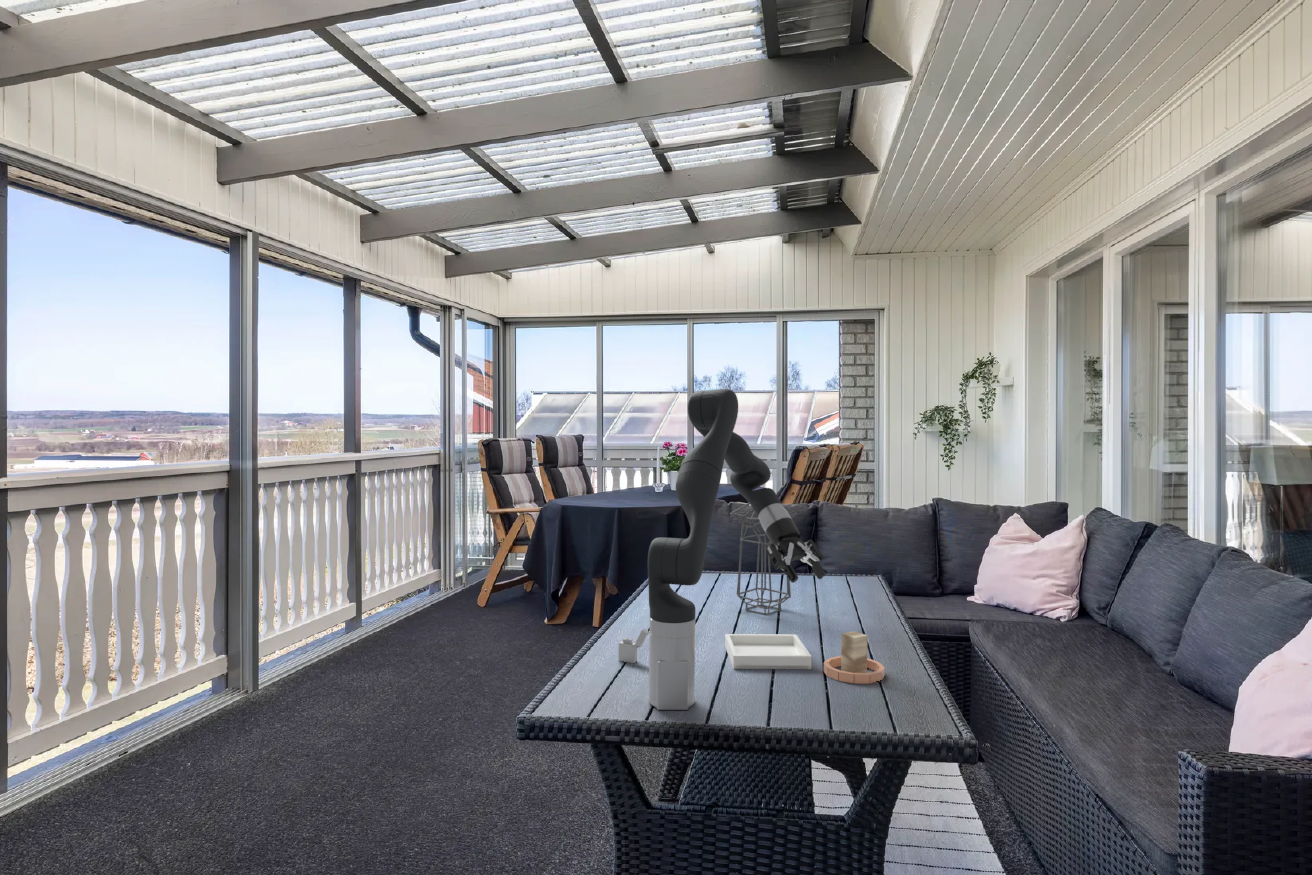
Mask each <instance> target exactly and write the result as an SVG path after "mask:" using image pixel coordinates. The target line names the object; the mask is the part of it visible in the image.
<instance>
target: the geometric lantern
mask: <svg viewBox="0 0 1312 875" xmlns="http://www.w3.org/2000/svg"><path fill="white" fill-rule="evenodd" d="M782 505H783V507H784V508H785V509H786V510H787V512H788V513H789V515H790V517H791V518H792V520H793V519H794V518H795V517H796V516H797V515H798V513H797V512H796V511H794V510H793V509H791V508H789V507H788V506H786V505H784V504H782ZM747 506H749V507H748V508H746V507H747ZM744 508H746V510H745V511H743V512H738V511H740V510H742V509H744ZM729 514H730V516H731V515H732V517H734V518H735V519H736V520H737V521H738V522H739V523H740V524H741V533H740V539H739V540H740V541H739V562H738V572H737V573H738V575H737V586H736V596H737V597H738V598H739V599H740V600H741V601H742V602H743V603H744V604H745V609H744V610H745V611H748V612H751V613H752V612H753V613H757V614H761V615H771V614H774V613H777V612H780V611H782V604H783V603H785V602H786V601H787V600H788V599H791V597H792V596H791V594H792V593H791V583H790V582H791V581H790V580H789V579H788V577H787V576H786V592H783V591H781V590H776V589H775V590H774V589H772V577H771V575H772V573H771V560H770V557H769V555H768V554H767V551H766V550H767V548H768V547H769V546H770V544H771V542H770V540H769V541H768V542H767V537H768V536H767V535H766V533H763V534H762V533H761V531H760V530H759V527H757V525H760V524H761V523H760V520H759V518H758V517H755V516H756V513H755V511H754V509H753V508H752V506H751V505H750V503H749V502H748V501H747V503H745V504H744V505H741V506H740V507H738V508H736V509H735V510H733V511H731V512H730V513H729ZM751 514H752V515H751ZM747 516H748V517H747ZM754 520H755V521H756V520H757V521H758V520H759V521H758V522H756V523H755V522H754ZM745 523H749V525H746V524H745ZM752 524H753V525H752ZM748 528H752V530H753V532H754V535H748V536H745V535H746V533H747V530H748ZM744 529H745V531H744ZM756 530H757V531H758V532H757V531H756ZM758 533H759V534H758ZM752 537H757V539H758V541H753V540H749V539H748V538H752ZM761 537H764V542H763V540H762V539H761ZM744 542H750V543H754V544H758V545H757V560H756V579H755V580H756V581H755V588H751V589H748V590H744V591H741V579H742V578H741V577H742V572H741V571H742V556H743V555H742V554H743V543H744ZM760 551H761V555H760ZM760 556H761V557H760ZM760 558H761V562H760ZM767 561H768V562H767ZM767 563H768V565H767ZM760 564H761V565H760ZM760 566H761V567H760ZM767 566H768V585H769V586H768V587H769V588H767ZM759 568H761V570H760V569H759ZM759 570H760V574H761V575H760V587H759V586H758V585H759V584H758V583H759ZM759 590H760V596H759V592H758V591H759ZM753 591H755V592H756V595H757V597H756V598H755V599H754V598H750V597H747V596H744V594H746V593H750V592H753ZM765 591H768V592H769V599H766V598H764V594H765ZM772 593H778V594H781V595H784V596H783V597H781V598H776V599H774V600H773V597H772V595H773V594H772ZM744 599H745V600H748V601H747V602H746V601H745V600H744ZM752 602H755V603H757V604H752ZM772 603H776V604H773V605H771V604H772ZM765 604H768V605H765ZM776 606H778V607H776ZM755 607H756V608H760V609H764V612H761V611H758V610H757V611H756V610H752V609H753V608H755ZM771 608H772V609H775V610H774V611H770V609H771Z"/></svg>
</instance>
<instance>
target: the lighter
mask: <svg viewBox="0 0 1312 875" xmlns="http://www.w3.org/2000/svg"><path fill="white" fill-rule="evenodd" d="M649 634H650V630H648V629H646V628H642V629H641V631H640V633H639V635H638V637H637V639H636V641H635V642H634V641H633V638H628V637H625V638H623V639H622V640H621V641H620V642H618V662H622V661H624V663H631V664H635V663H636V661H637V662H638V648H639V649H640V648H641V647H642V646H643V644H644V643H645V641H646V639H647V636H648V635H649Z"/></svg>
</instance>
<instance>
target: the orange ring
mask: <svg viewBox="0 0 1312 875" xmlns="http://www.w3.org/2000/svg"><path fill="white" fill-rule="evenodd" d="M838 667H841V655H839V656H833V657H828V658H826V659H825V660H824V662H823V672H824V674H825V675H826V677H829V678H831V679H833V680H836V681H839V682H843V683H849V684H857V685H859V684H863V685H864V684H873V682H874V683H877V682H876V681H879V682H881V681H880V680H883V679H884V678H885V677H884V676H886V672H885V670H886V667H885V666H884V665H883V664H882V663H881V662H880V661H877V660H874V659H871V658H868V657H867V668H869V669H868V670H870V669H871V671H870V672H867V673H852V672H846V671H841V669H837V668H838ZM873 670H874V671H873Z"/></svg>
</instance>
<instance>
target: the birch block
mask: <svg viewBox="0 0 1312 875" xmlns="http://www.w3.org/2000/svg"><path fill="white" fill-rule="evenodd" d="M840 648H841V653H840V654H841V655H840V656H841V666H840V671H846V672H852V673H868V669H867V658H868V635H867V634H864V633H862V632H858V631H855V630H853V631H848V632H843V633H841V647H840Z"/></svg>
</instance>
